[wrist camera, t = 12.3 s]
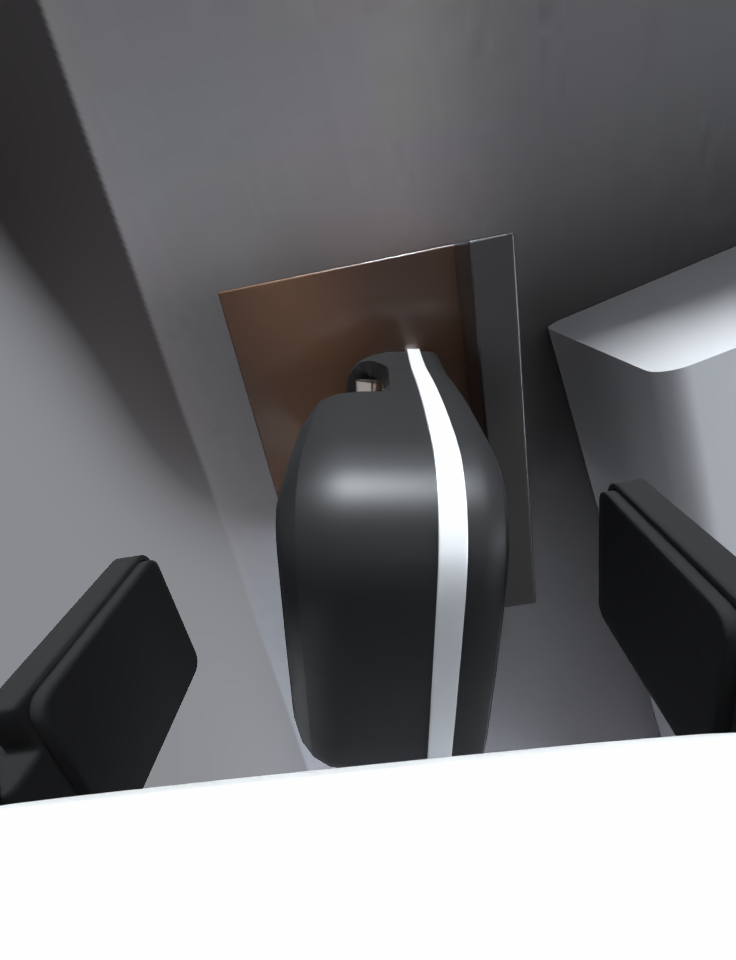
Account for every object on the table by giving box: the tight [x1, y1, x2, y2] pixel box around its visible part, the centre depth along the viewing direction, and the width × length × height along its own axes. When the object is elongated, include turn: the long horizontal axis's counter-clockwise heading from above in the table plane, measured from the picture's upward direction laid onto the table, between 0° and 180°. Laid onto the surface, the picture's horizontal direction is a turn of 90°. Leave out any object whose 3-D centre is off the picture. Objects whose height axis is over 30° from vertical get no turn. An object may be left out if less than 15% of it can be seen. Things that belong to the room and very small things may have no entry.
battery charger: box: [276, 349, 509, 768], centre depth 13 cm, size 7×4×11 cm, turn 1°
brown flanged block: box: [218, 232, 536, 607], centre depth 19 cm, size 9×12×8 cm
